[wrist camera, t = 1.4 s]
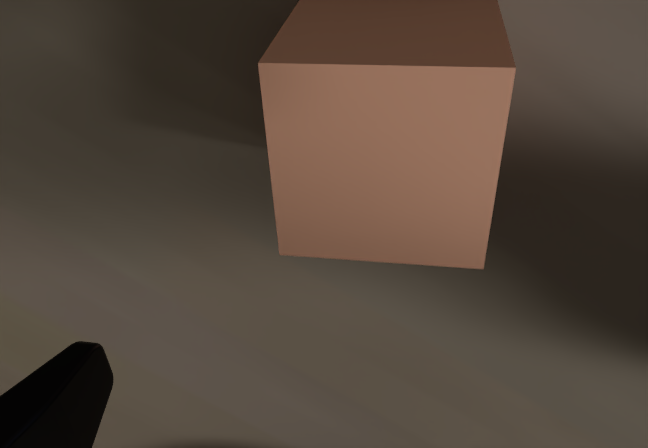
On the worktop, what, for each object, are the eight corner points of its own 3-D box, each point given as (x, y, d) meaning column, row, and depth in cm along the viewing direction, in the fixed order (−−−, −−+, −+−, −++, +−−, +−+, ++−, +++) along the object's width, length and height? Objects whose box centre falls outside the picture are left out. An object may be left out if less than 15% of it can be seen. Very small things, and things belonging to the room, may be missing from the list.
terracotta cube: (473, 163, 21) (483, 269, 17) (313, 155, 22) (279, 255, 18) (495, -7, 18) (516, 67, 13) (303, -7, 19) (258, 63, 14)
